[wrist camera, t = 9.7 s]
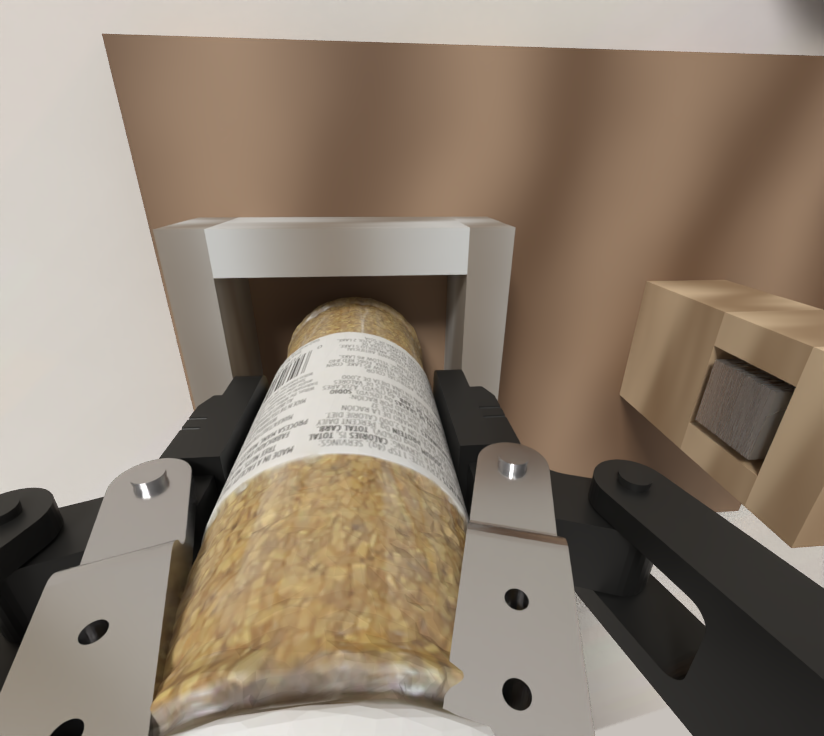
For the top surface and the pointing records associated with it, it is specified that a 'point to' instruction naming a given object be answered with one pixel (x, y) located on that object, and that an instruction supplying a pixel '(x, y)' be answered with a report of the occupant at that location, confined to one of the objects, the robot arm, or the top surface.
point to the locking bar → (744, 406)
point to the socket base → (507, 231)
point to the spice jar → (328, 552)
